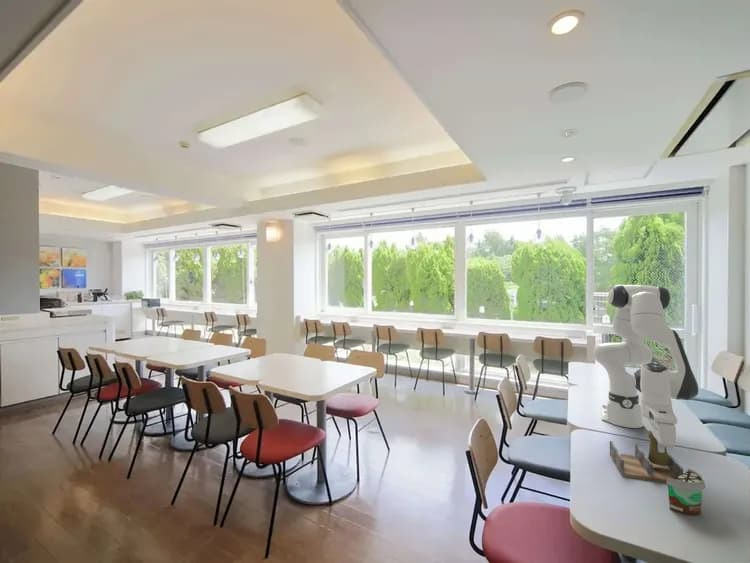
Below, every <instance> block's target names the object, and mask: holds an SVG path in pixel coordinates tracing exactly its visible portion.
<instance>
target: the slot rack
mask: <svg viewBox="0 0 750 563" xmlns="http://www.w3.org/2000/svg"><path fill="white" fill-rule="evenodd" d="M667 454H668V459H669V464H670V465H669V466H660V465H656V464H653V463H651V461H650V460H649V459H648V456H647V455H646V454H645V452H644V451H643V450H642V449H641V447H640V446H639V444H634V455H631V454H625V453H620V452H619V450H618V449H617V447H616V445H615V443H614V442H613V441H612V440H609V456H610V458H611V460H612V461H613V463H614V464H615V467H616V469H617V471H618V472H619V474H620V475H621V477H624V478H632V479H637V480H638V479H639V480H643V481H644V480H645V481H650V482H656V483H664V484H666V482H667V477H670V478H673V477H675V476H676V475H678V474H682V473H684V468H683V467H682V465H680V463H678V462H677V461H676V460H675V458H674V457H673V456H672V455H671V454H670V453H669V452H668V451H667Z"/></svg>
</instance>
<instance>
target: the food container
mask: <svg viewBox="0 0 750 563" xmlns="http://www.w3.org/2000/svg"><path fill="white" fill-rule="evenodd" d="M665 485H667V491H668V501H669V510H671V511H673V512H676V513H678V514H681V515H685V516H692V517H693V516H694V517H695V516H699V515H701V513H702V501H703V498H702V497H703V490H705V489H706V483H705V480H704V478H703V476H702V475H701V474H699V473H698V472H697V471H695V470H693V469H691V468H688V467H687V471H686V472H683V473H682V474H678V475H676V476H675V477H673V478H670V477H667V482H666V483H665Z"/></svg>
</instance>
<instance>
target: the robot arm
mask: <svg viewBox="0 0 750 563" xmlns="http://www.w3.org/2000/svg"><path fill="white" fill-rule="evenodd" d="M670 301H671V293H670V291H669V290H668V288H666V287H662V286H658V285H657V286H652V285H647V284H616V285H615V284H614V285H612V287H611V288H610V289H609V292H608V302H609V303H610V305H612V306H613V307H615V310H614V318H613V322H612V330H613V332H614V333H615V335H617V336H618V337H620V338H621V342H604V343H599V344H597V345H595V346H594V348H593V352H592V354H593V357H594V359H595V361H596V362H597V363H598V364H600V365H601V366H602V367H603V368H604V369H605V370H606V373H607V375H608V381H609V391H608V399H607V400H606V401H605V402H606V403H602V409H601V414H600V415H601V418H600V419H601V421H604V422H608V423H610V424H613V425H616V426H619V427H622V428H630V429H640V428H643V427H644V428H645V429H646V430H647V431H648V432H649V431H651V432H652V434H653V436H654V437H655V439H656V440H657V442H658V446H657V450H658V452H660V453H664V452H665V446H666V447H669V448H673V447H675V445H676V439H677V431H676V425H677V424H678V418H677V416H676V414H675V412H674V409H673V402H672V399H671V398H675V399H679V400H684V401H689V400H692V399H694V398H695V397H697V396H698V395H699V390H700V389H699V383H698V381H697V379H696V377H695V375H694V374H695V373H694V372H693V370H692V368H691V364H690V362H689V359H688V356H687V354H686V351H685V347H684V345H683V343H682V340H681V338H680V336H679V335H680V334H678V332H677V331H676V330H674V329H672V328H671V327H670V326H669V325H668V324H667V322H666V320H665V318H666V317H665V313H664V310H665V309H667V308H668V307H669V305H670ZM643 340H647V341H649V342H652V343H655V344H658V345H661V346H663V347H665V349H667V350H668V351H669V352H670V355H671V358H672V362H673V364H674V367H675V370H669V368H668V367H667V366H665V365H663V364H660V363H656V362H655V363H654V362H652V360H653V357H654V354H653V350H652V349H651V347H650V346H649V345H647V343H645V341H643ZM626 366H641V368H639V369H637V370H636V371H635V372H634V373H633V374H631V373H629V372H627V370H626ZM638 393H641V396H640V395H639V394H638ZM639 396H640V398H639ZM639 403H640V404H639Z"/></svg>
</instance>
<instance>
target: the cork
mask: <svg viewBox="0 0 750 563" xmlns="http://www.w3.org/2000/svg"><path fill="white" fill-rule="evenodd" d="M647 434H648V439H649V449H648V456H647V457H648V459H649V460H650V461H651V463H653V464H656V465H660V466H669V465H670V464H669V459H668V454H667V452H668V450H667V446H665V452H664V453H660V452H658V450H657V446H658V442H657V440H656V439H655V437H654V436H653V434H652V432H651V431H648V432H647Z"/></svg>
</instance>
